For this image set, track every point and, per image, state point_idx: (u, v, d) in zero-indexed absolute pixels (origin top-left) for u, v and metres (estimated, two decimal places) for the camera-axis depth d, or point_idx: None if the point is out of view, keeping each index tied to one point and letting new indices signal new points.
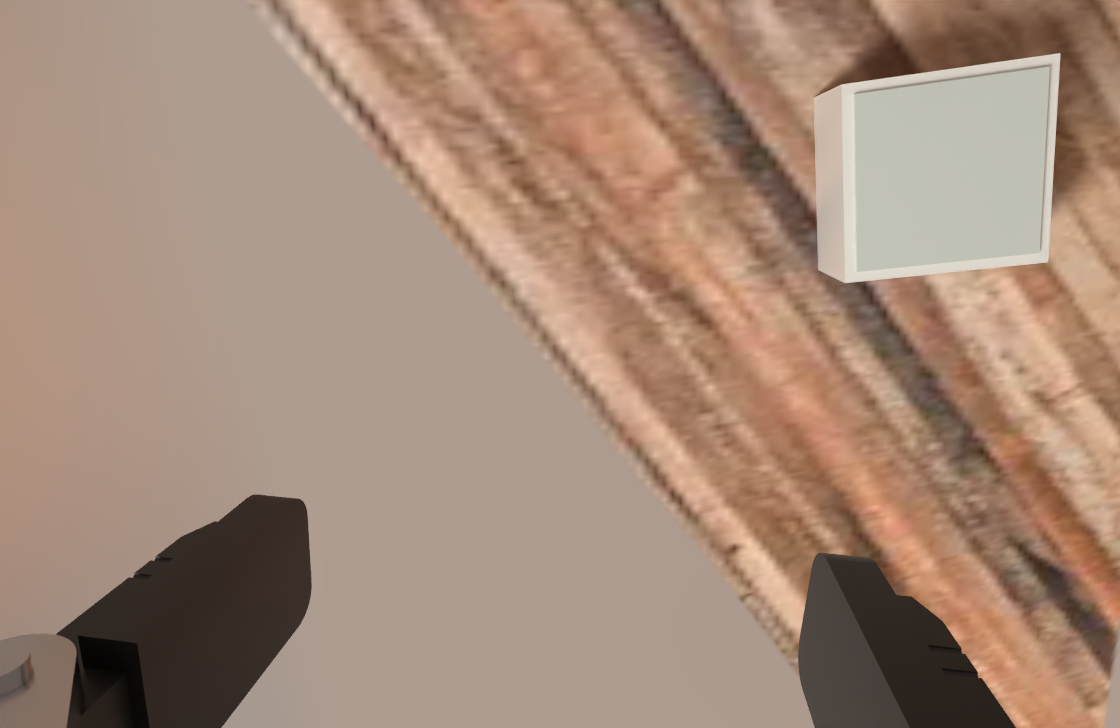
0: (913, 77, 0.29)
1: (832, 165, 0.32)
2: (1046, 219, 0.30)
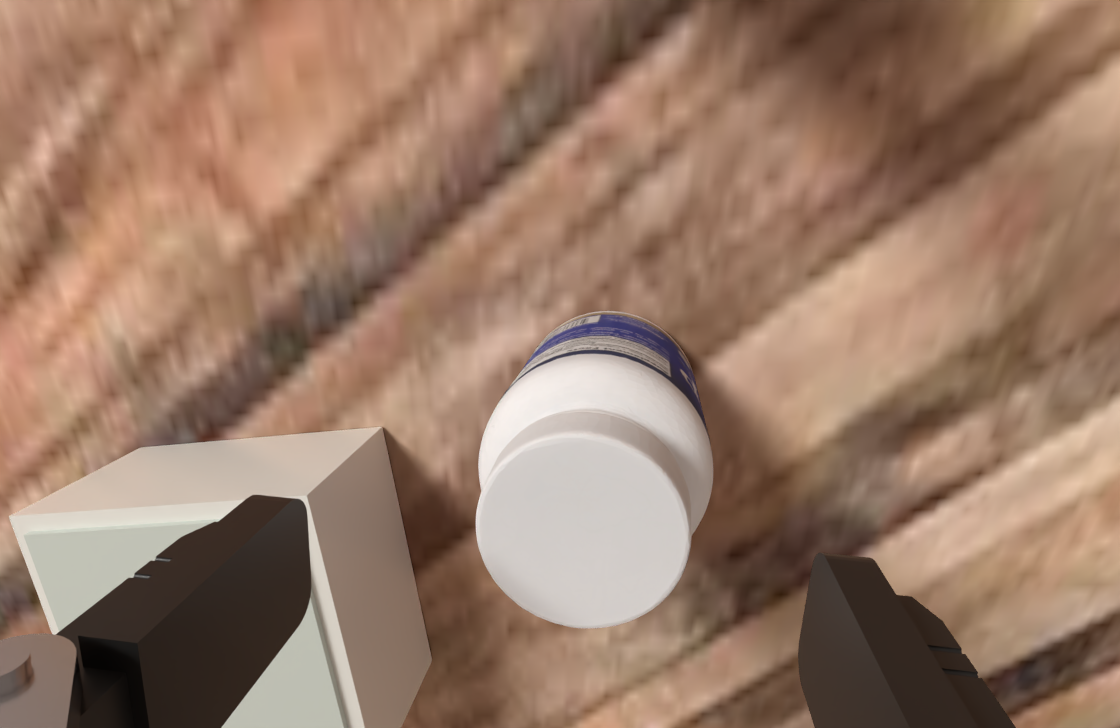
0: (327, 599, 0.18)
1: (223, 477, 0.19)
2: None
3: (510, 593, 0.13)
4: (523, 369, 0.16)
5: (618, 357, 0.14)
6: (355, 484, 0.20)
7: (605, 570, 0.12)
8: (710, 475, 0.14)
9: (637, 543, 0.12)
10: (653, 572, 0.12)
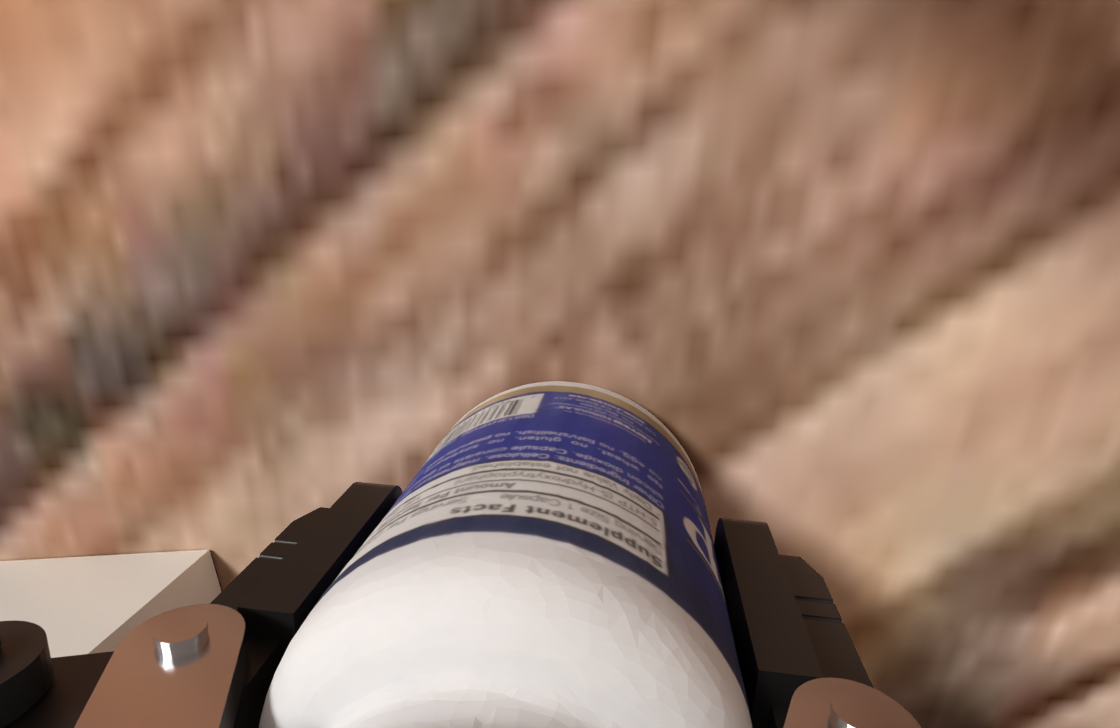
0: None
1: None
2: None
3: None
4: (382, 520, 0.09)
5: (553, 541, 0.06)
6: None
7: None
8: None
9: None
10: None
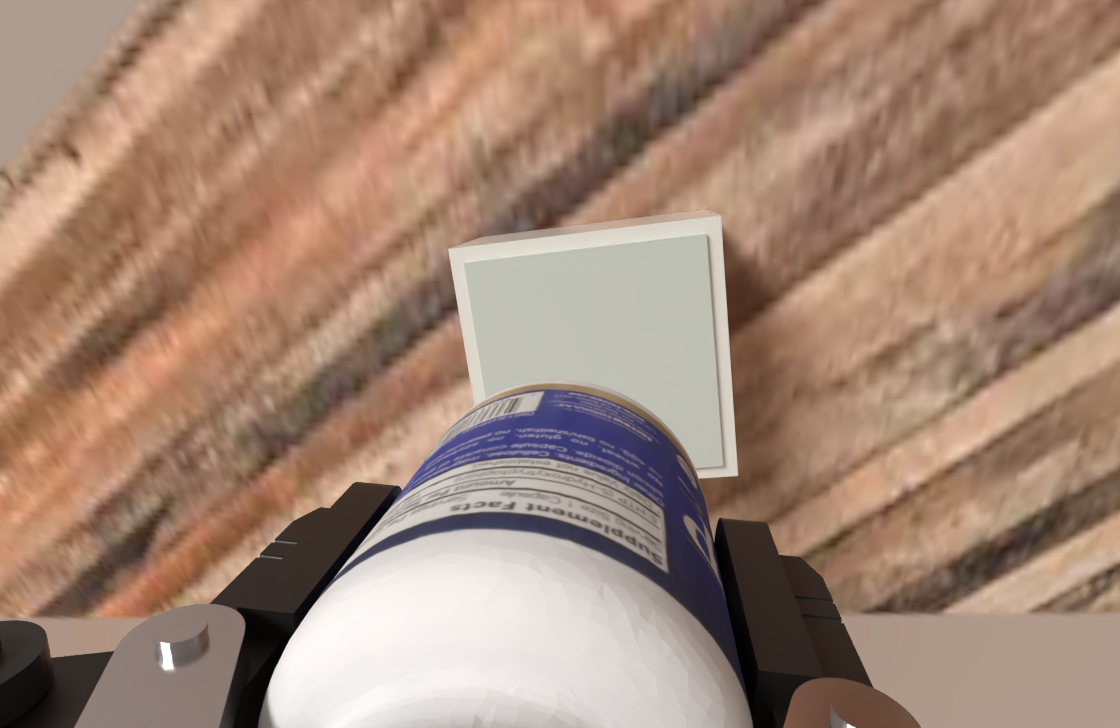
0: (722, 309, 0.22)
1: (613, 225, 0.23)
2: None
3: None
4: (382, 518, 0.08)
5: (552, 539, 0.06)
6: None
7: None
8: None
9: None
10: None
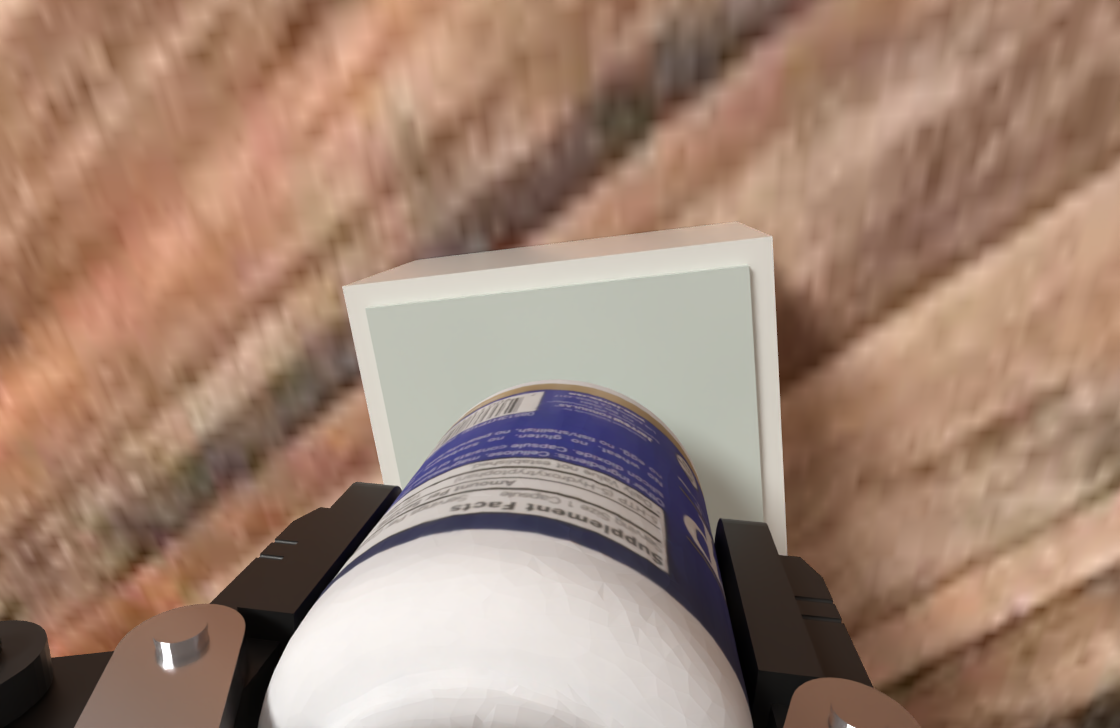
0: (772, 384, 0.14)
1: (600, 248, 0.15)
2: None
3: None
4: (382, 518, 0.08)
5: (552, 539, 0.06)
6: None
7: None
8: None
9: None
10: None
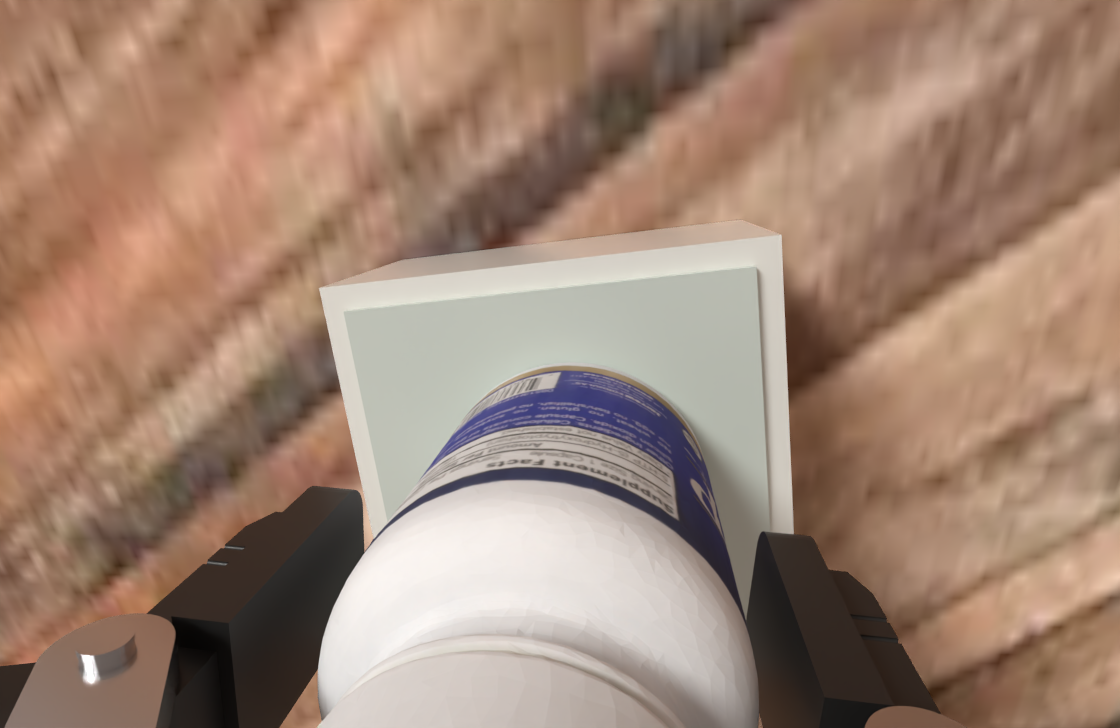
0: (780, 394, 0.13)
1: (597, 247, 0.14)
2: None
3: None
4: (420, 480, 0.09)
5: (579, 488, 0.07)
6: None
7: None
8: (755, 721, 0.07)
9: None
10: None
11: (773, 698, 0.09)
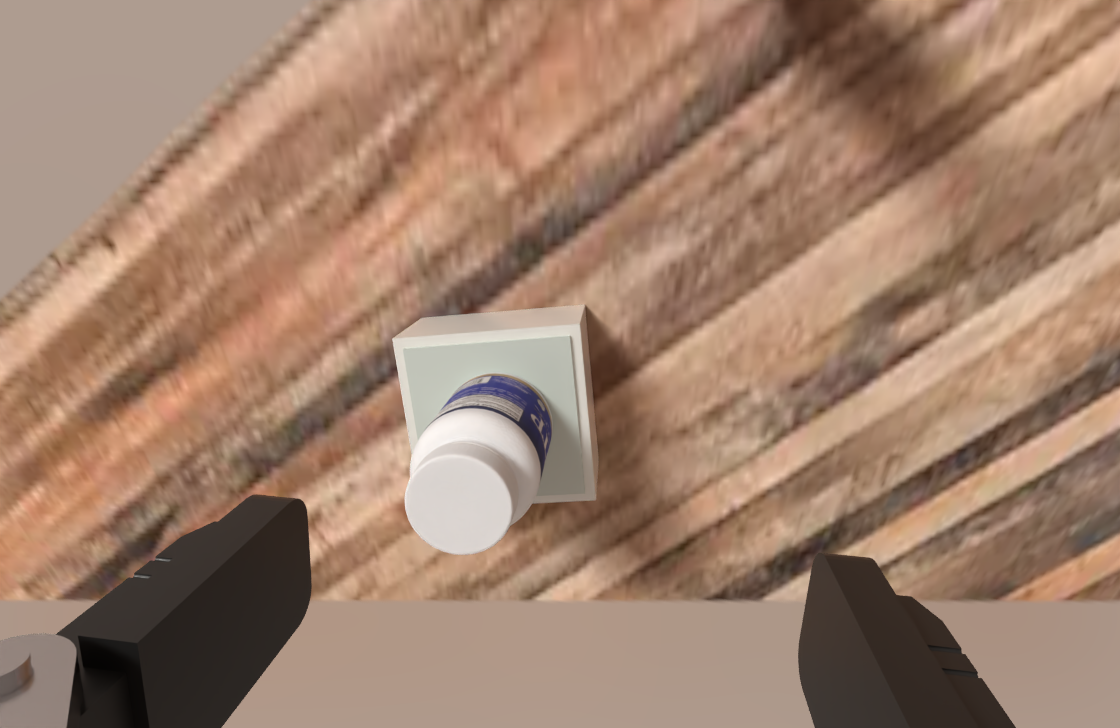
0: (582, 386, 0.32)
1: (511, 322, 0.33)
2: None
3: (422, 536, 0.24)
4: (439, 412, 0.28)
5: (488, 410, 0.26)
6: (584, 330, 0.34)
7: (470, 524, 0.24)
8: (536, 476, 0.26)
9: (486, 510, 0.24)
10: (494, 525, 0.24)
11: None
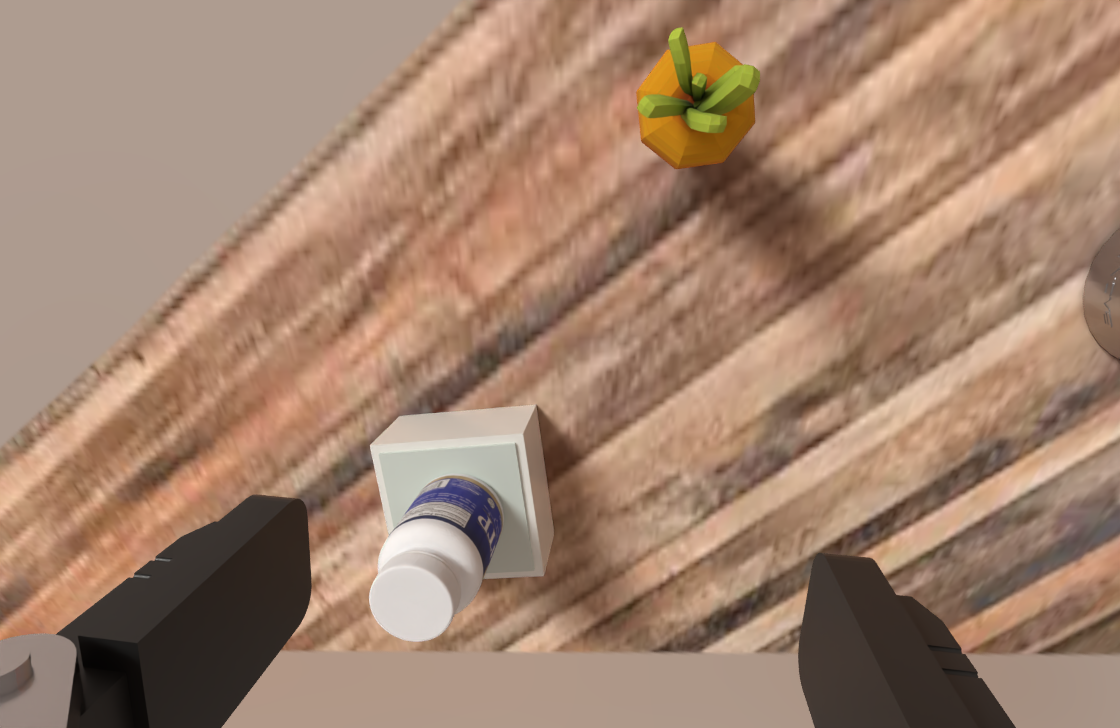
0: (527, 483, 0.38)
1: (469, 427, 0.39)
2: None
3: (384, 627, 0.31)
4: (403, 516, 0.34)
5: (438, 520, 0.32)
6: (532, 431, 0.40)
7: (421, 618, 0.30)
8: (478, 573, 0.32)
9: (432, 608, 0.30)
10: (439, 619, 0.30)
11: None
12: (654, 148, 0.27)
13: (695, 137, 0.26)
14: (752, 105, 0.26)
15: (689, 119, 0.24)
